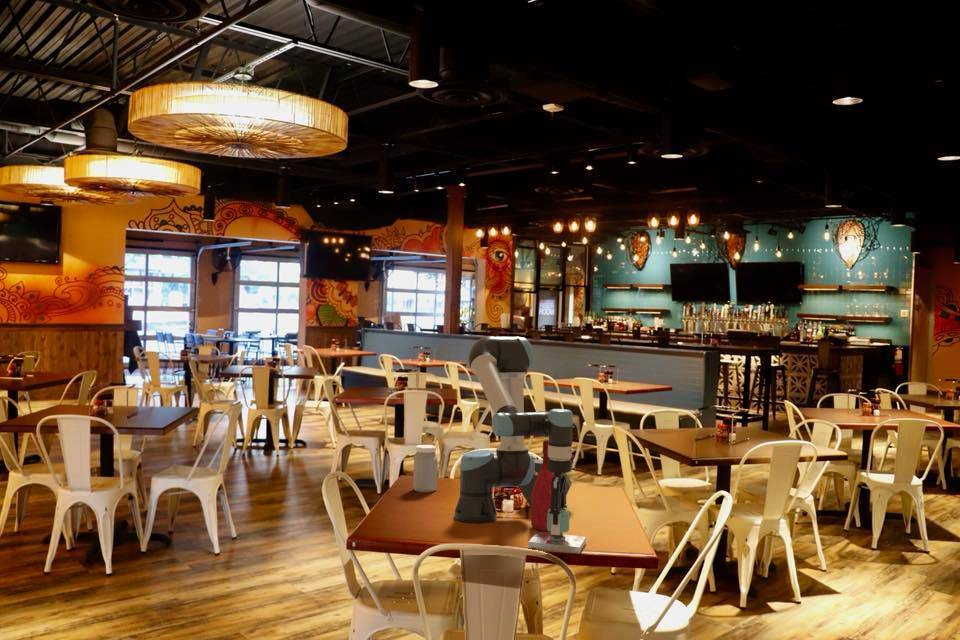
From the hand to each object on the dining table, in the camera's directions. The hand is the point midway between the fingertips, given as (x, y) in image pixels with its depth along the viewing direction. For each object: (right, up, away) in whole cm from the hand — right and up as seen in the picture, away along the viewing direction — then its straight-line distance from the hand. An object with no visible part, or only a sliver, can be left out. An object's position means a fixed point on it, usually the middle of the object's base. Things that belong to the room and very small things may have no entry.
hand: (557, 531), depth 249 cm
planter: (0, -4, +49) cm, 49 cm away
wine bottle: (-2, -4, +21) cm, 21 cm away
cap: (0, +1, 0) cm, 1 cm away
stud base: (0, -4, 0) cm, 4 cm away
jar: (-47, -3, +73) cm, 87 cm away
